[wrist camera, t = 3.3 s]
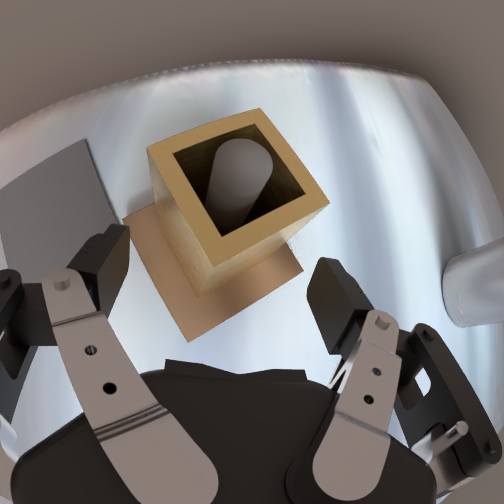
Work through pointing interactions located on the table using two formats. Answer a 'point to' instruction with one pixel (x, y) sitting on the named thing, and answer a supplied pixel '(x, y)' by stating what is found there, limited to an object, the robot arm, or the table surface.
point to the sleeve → (195, 191)
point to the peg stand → (226, 221)
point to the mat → (52, 213)
